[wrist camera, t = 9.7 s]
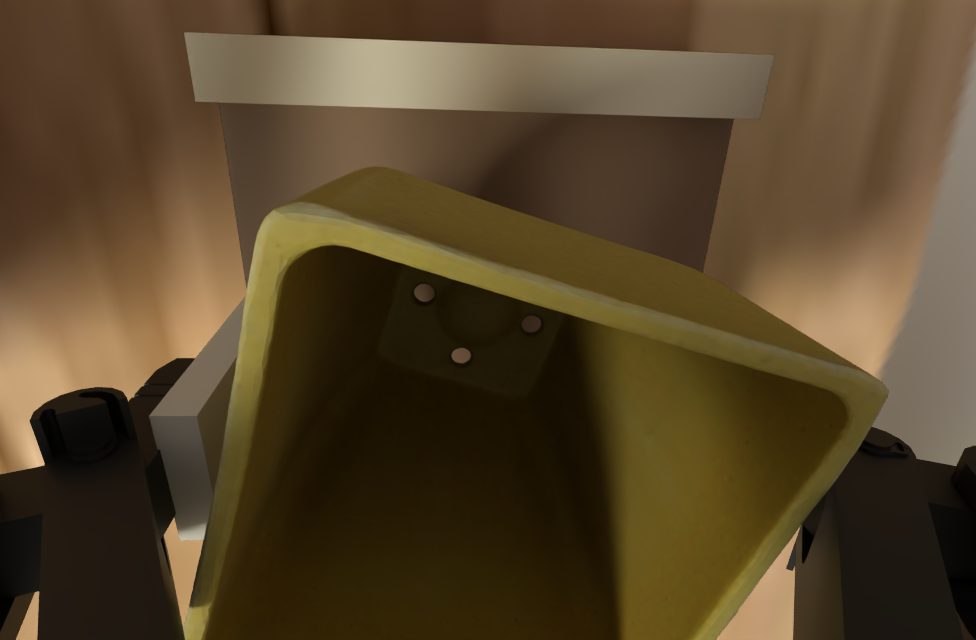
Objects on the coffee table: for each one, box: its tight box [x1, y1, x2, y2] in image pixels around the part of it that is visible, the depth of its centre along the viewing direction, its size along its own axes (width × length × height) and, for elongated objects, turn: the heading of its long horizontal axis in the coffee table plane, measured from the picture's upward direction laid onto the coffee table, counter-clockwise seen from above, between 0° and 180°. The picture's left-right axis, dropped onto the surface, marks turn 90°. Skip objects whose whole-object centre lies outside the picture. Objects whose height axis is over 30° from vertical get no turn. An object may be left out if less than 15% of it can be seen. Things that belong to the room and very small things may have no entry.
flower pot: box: [183, 166, 889, 640], centre depth 13 cm, size 9×9×9 cm
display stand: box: [184, 32, 774, 363], centre depth 19 cm, size 14×14×6 cm
